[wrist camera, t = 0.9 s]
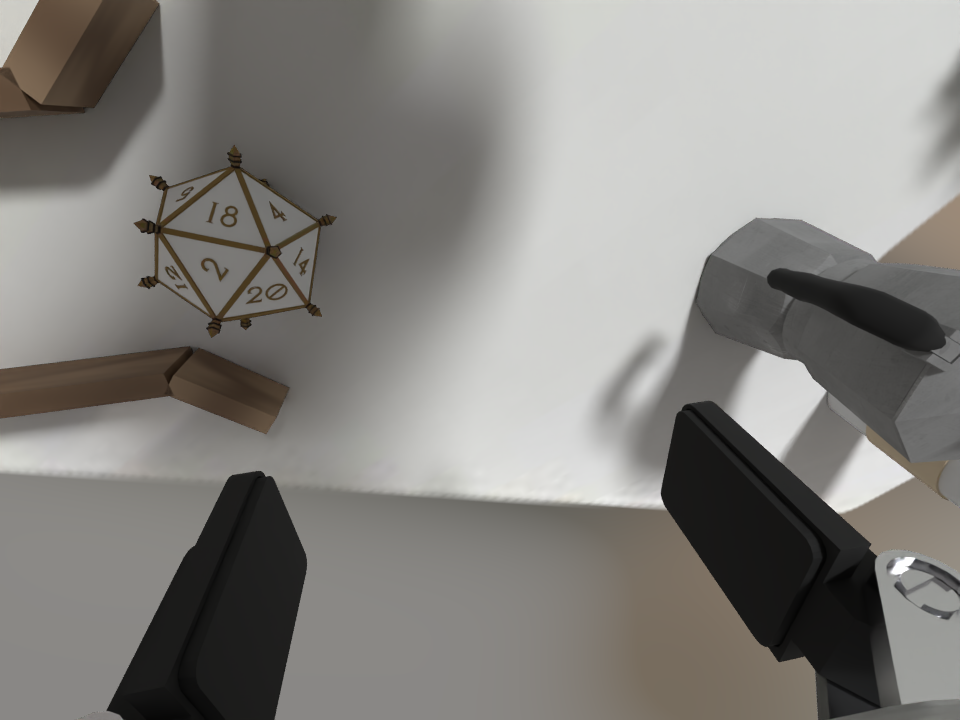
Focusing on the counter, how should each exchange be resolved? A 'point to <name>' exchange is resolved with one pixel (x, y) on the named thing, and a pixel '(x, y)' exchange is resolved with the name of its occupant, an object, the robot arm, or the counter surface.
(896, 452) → the coffee cup
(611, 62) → the counter surface
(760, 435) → the counter surface
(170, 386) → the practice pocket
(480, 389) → the counter surface
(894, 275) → the coffeepot
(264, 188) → the game die
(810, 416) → the counter surface
